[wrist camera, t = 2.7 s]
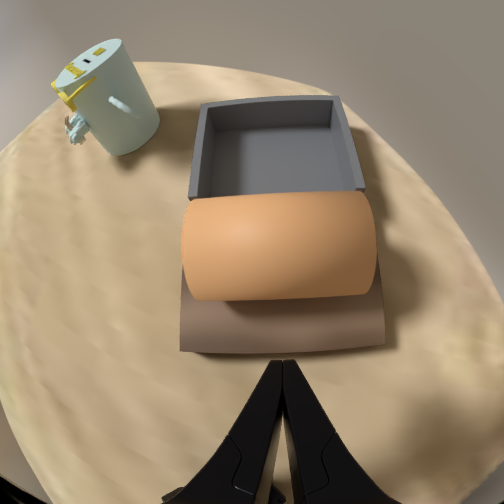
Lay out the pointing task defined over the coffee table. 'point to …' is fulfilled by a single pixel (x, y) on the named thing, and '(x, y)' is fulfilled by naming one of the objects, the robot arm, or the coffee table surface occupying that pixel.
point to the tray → (273, 147)
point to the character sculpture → (107, 99)
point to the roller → (279, 246)
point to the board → (282, 323)
